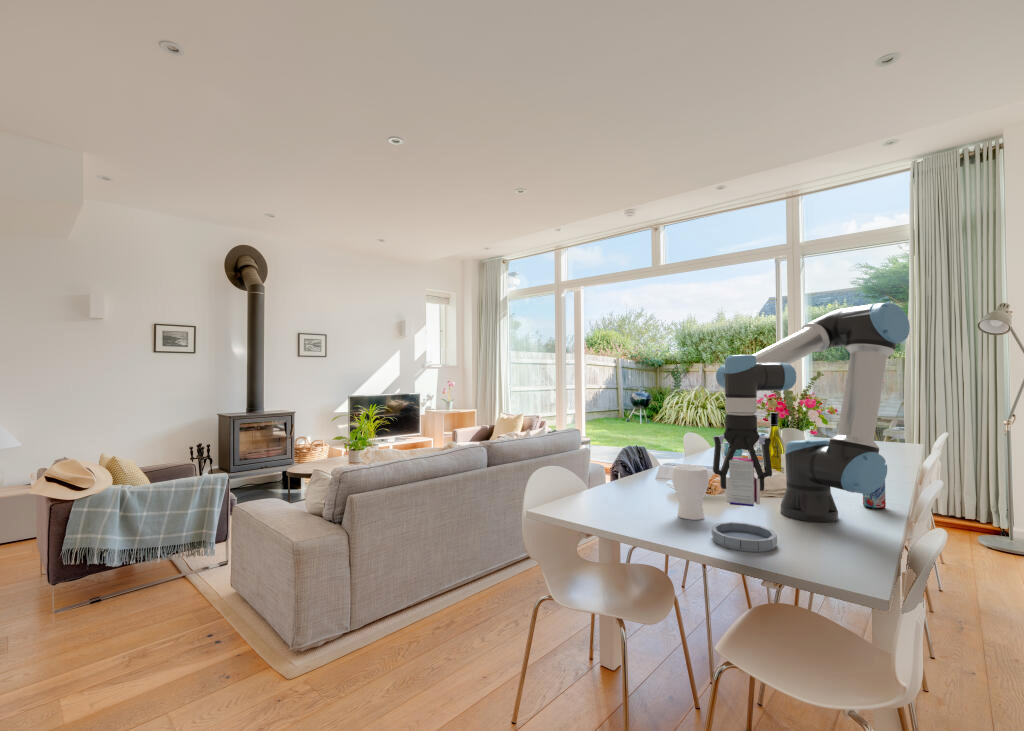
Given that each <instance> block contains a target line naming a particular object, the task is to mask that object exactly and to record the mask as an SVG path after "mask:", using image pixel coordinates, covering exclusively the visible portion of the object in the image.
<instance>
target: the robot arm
mask: <svg viewBox="0 0 1024 731" xmlns="http://www.w3.org/2000/svg"><path fill="white" fill-rule="evenodd" d="M910 331H911V326H910V320H909V318H908V315H907V314H906V312H905V311H904V310H903V308H902V307H901V306H899V305H897V304H896V303H894V302H875V303H871V304H864V305H859V306H852V307H851V306H850V307H843V308H839V309H838V308H837V309H836V310H833V311H830V312H828V313H826V314H823V315H822V316H820V317H818V318H816V319H813V320H812V321H809V322H808V323H806V324H804V325H802V326H801V329H800V330H799V331H798V332H797V331H796V332H795V333H793V334H791V335H789V336H787V337H785V338H782V339H780V340H779V341H777V342H775V343H773V344H771V345H769V346H767V347H765V348H763V349H761V350H759V351H757V352H756V353H753V354H733V355H732V354H730V355H728V356H726V357H725V359H724V364H722V365H720V366H719V367H718V368H717V370H716V372H715V378H716V379H715V380H716V382H717V384H718V385H719V386H720V387H721V388H722V389H724V397H725V399H724V401H725V403H724V406H725V408H724V409H725V410H724V411H725V412H726V414H725V417H724V418H725V419H724V420H725V425H724V426H725V430H724V432H723V434H720V435H714V436H712V439H713V442H714V452H713V463H712V472H713V474H715V475H718V476H719V477H720V479H719V481H720V488H721V490H724V501H725V503H728V504H730V480H729V475H727V474H728V472H729V460H732V458H734V455H735V453H736V451H737V450H744V451H747V453H748V454H749V456H750V459H752V460H753V462H754V471H755V473H756V475H757V476H754V499H755V501H754V504H756V505H761V492H764V490H765V479H766V478H768V477H772V476H773V469H772V461H771V453H770V445H771V440H772V439H771V438H769V437H768V436H761V435H760V434H759V432H758V416H757V415H756V414H757V412H758V406H757V405H758V404H757V398H758V396H757V395H758V394H757V393H758V391H759V392H760V391H761V392H765V391H768V392H769V391H770V392H771V391H772V392H773V391H774V392H775V391H777V392H781V391H788V390H791V389H792V388H793V387H794V386H795V384H796V382H797V372H796V369H795V368H794V367H793V366H792V365H791V364H794V363H795V362H797V361H799V360H801V359H803V358H804V357H807V356H809V355H810V354H813V353H814V352H816V353H821V352H825V350H828V349H832V348H837V347H845V349H846V351H847V352H848V353H849V354H850V355H849V360H848V367H847V373H846V379H845V385H844V390H843V396H842V402H841V408H840V416H839V421H838V426H837V432H836V434H835V435H834V436H832V437H830V438H829V440H828V439H805V440H804V439H802V440H790V441H788V442H787V443H786V445H785V453H784V455H785V459H784V460H785V479H786V480H785V481H786V484H785V485H786V489H785V490H784V491H785V492H784V493H783V498H782V500H781V502H780V513H781V515H783V516H786V517H788V518H792V519H796V520H800V521H806V522H813V523H814V522H816V523H830V522H832V523H833V522H836V521H838V520H839V511H838V507H837V505H836V503H835V500H834V498H833V495H832V491H831V490H832V489H831V488H833V489H838V490H843V491H845V492H849V493H854V494H855V493H856V494H862V495H863V494H868V493H872V492H874V491H875V490H876V489H878V488H880V487H881V485H882V484H883V483H884V481H885V482H886V479H887V475H888V464H886V463H887V461H886V459H885V457H883V455H881V454H880V447H879V446H878V444H877V443H876V442H875V436H876V429H877V421H878V417H879V416H878V415H879V410H880V404H881V396H882V393H883V392H882V391H883V385H884V378H885V372H886V366H887V359H888V358H889V357H890V356H892V355H893V354H895V352H896V347H897V345H898V344H901V343H903V342H905V341H906V339H907V338H908V337H909V335H910ZM724 440H725V441H726V442H727V443H728V445H729V446H728V447H727V448H728V449H727V452H726V454H725V458H724V460H723V463H722V465H721V469H720V464H721V453H722V452H721V451H722V444H723V443H724ZM757 442H759V444H760V445H761V452H762V460H763V461H762V462H763V468H762V465H761V464H760V461H759V459H758V455H757V453H756V450H755V445H756V443H757ZM763 469H764V471H763Z"/></svg>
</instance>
